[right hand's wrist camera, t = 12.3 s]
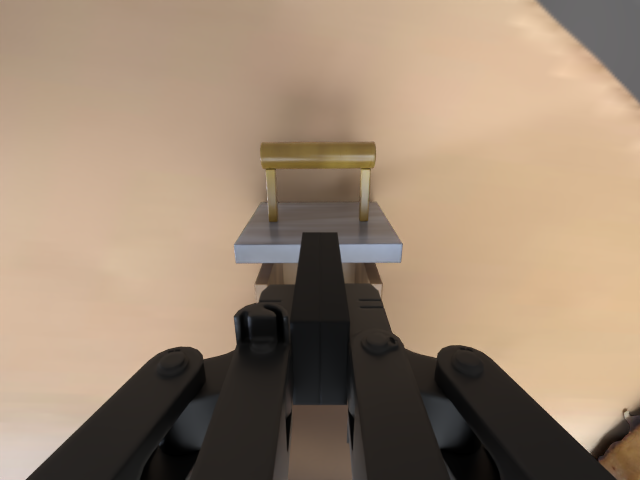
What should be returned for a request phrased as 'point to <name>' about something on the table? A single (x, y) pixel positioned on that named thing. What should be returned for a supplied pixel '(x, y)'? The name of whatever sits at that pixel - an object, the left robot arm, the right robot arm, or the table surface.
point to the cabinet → (319, 443)
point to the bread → (624, 453)
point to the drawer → (317, 217)
